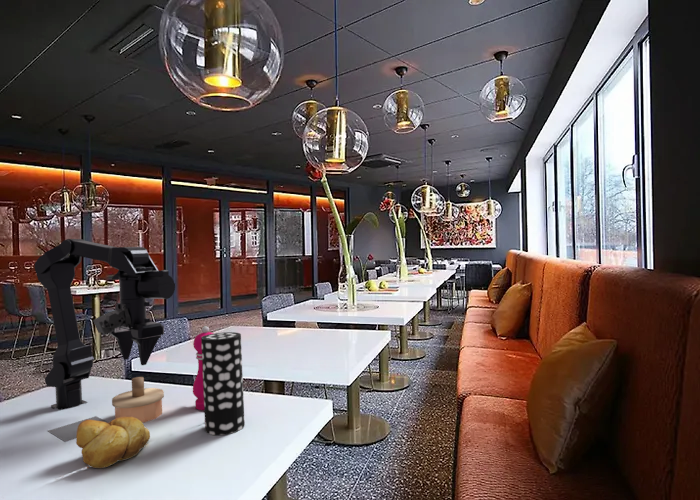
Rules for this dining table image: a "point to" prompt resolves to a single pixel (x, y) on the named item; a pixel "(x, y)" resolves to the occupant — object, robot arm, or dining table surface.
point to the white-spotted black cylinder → (223, 383)
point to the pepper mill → (199, 370)
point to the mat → (70, 430)
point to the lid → (137, 395)
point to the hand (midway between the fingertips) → (134, 362)
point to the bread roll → (111, 440)
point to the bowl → (141, 412)
